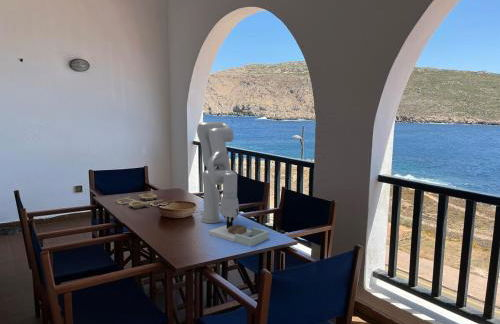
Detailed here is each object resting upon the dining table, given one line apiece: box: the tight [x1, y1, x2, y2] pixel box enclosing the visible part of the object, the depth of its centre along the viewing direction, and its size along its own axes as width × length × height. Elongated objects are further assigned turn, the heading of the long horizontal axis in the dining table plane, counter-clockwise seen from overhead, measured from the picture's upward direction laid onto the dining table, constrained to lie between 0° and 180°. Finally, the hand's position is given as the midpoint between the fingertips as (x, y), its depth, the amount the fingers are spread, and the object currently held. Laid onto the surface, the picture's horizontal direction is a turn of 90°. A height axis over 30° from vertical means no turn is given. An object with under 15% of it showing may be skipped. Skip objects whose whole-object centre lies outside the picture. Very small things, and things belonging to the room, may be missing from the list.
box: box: [234, 227, 270, 247], centre depth 194 cm, size 10×15×4 cm
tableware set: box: [115, 192, 164, 209], centre depth 267 cm, size 35×29×4 cm
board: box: [208, 224, 253, 243], centre depth 203 cm, size 18×16×2 cm
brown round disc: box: [228, 223, 248, 235], centre depth 200 cm, size 7×7×3 cm
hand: (229, 228), depth 203 cm, fingers closed
